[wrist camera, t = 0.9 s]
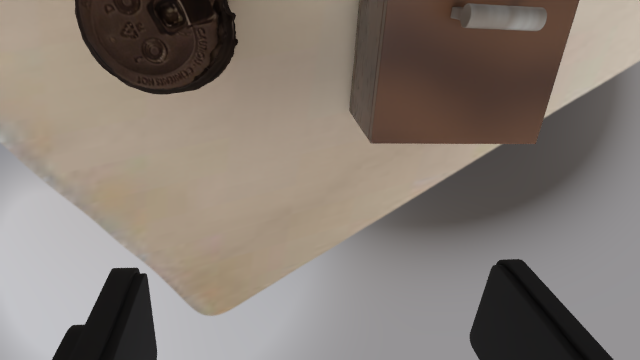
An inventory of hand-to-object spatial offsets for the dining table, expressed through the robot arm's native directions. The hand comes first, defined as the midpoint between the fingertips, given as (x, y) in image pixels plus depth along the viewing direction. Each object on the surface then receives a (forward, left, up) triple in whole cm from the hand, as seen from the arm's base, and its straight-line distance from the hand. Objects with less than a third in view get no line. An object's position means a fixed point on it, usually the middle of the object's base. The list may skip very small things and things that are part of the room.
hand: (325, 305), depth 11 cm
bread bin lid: (-3, +13, -21) cm, 25 cm away
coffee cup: (-5, -7, -28) cm, 30 cm away
